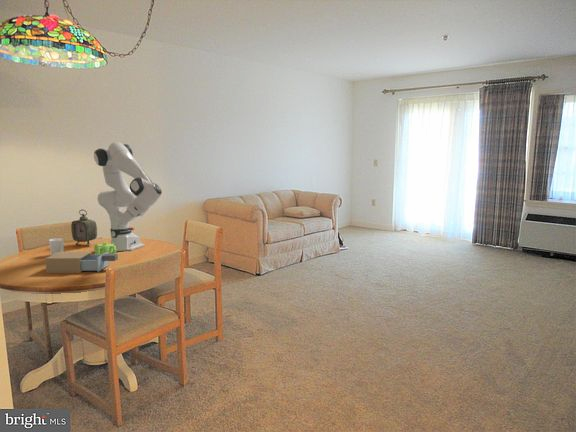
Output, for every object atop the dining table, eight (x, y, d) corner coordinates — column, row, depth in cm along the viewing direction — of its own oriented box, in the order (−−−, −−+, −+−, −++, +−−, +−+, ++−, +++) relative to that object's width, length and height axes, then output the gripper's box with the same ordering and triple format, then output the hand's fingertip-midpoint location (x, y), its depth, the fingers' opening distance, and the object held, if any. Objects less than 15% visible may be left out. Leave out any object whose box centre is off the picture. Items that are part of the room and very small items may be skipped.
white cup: (63, 256, 250) (61, 240, 249) (48, 257, 248) (47, 241, 247) (66, 253, 258) (64, 237, 256) (52, 254, 256) (50, 238, 254)
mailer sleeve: (92, 265, 231) (91, 251, 229) (80, 272, 217) (79, 258, 215) (60, 265, 230) (58, 251, 229) (46, 272, 216) (45, 258, 215)
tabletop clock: (72, 245, 278) (69, 209, 274) (83, 243, 286) (81, 208, 282) (88, 247, 273) (85, 211, 269) (99, 244, 281) (96, 209, 277)
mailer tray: (121, 264, 231) (120, 251, 230) (112, 271, 217) (111, 258, 216) (77, 264, 230) (75, 251, 229) (64, 271, 216) (63, 258, 215)
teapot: (117, 259, 244) (116, 243, 242) (96, 261, 238) (95, 245, 237) (114, 255, 254) (113, 239, 252) (94, 257, 248) (93, 241, 247)
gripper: (139, 201, 229) (123, 218, 230) (126, 207, 209) (109, 225, 210) (148, 209, 230) (131, 226, 231) (136, 215, 210) (118, 234, 211)
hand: (120, 226), depth 221 cm, fingers open, 8 cm apart
